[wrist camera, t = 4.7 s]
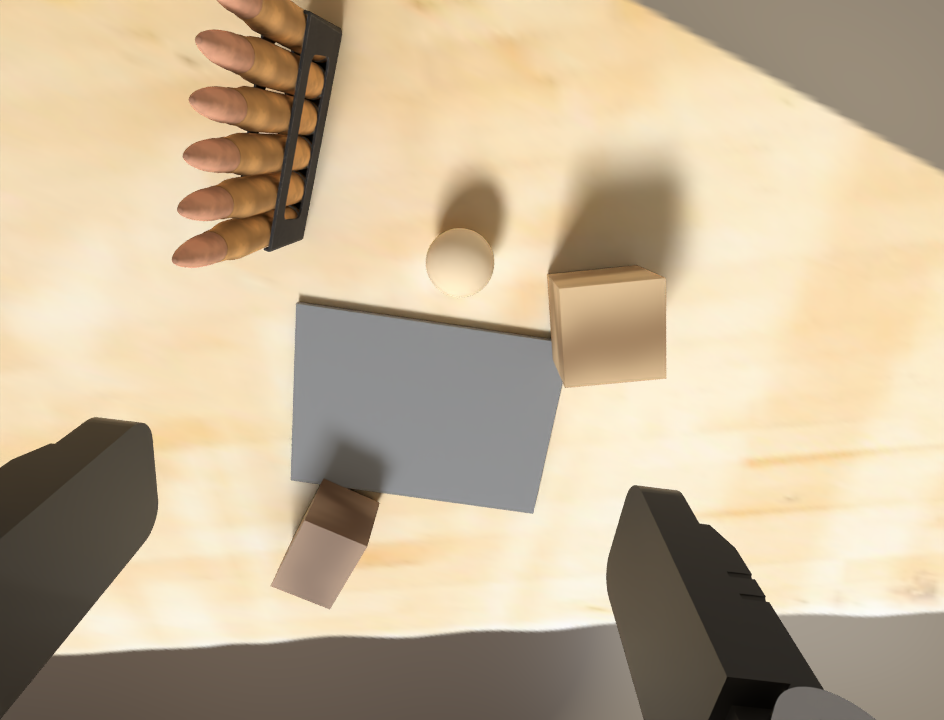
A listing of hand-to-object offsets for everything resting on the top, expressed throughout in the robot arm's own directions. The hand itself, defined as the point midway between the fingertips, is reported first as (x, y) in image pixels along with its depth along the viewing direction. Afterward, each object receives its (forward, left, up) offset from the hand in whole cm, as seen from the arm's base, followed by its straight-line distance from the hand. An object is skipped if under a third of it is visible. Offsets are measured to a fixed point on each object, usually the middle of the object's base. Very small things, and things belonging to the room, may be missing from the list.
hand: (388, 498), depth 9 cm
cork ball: (0, 0, -21) cm, 21 cm away
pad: (+10, -1, -23) cm, 25 cm away
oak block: (+2, +8, -23) cm, 24 cm away
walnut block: (+19, -6, -23) cm, 30 cm away
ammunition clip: (-5, -9, -23) cm, 25 cm away
